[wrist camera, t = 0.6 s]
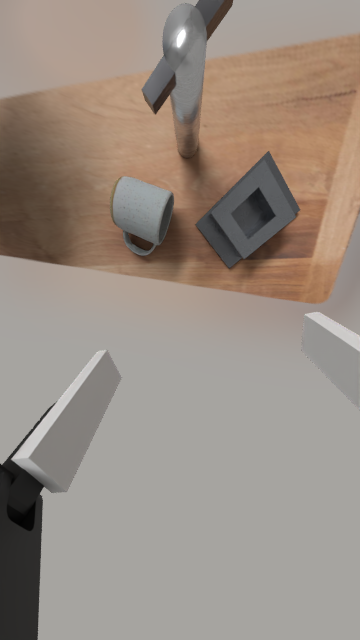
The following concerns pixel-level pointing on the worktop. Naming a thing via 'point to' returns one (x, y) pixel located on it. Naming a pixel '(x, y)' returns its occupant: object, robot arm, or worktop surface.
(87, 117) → the worktop surface
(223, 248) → the chuck block
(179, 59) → the t key
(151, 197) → the ceramic mug
